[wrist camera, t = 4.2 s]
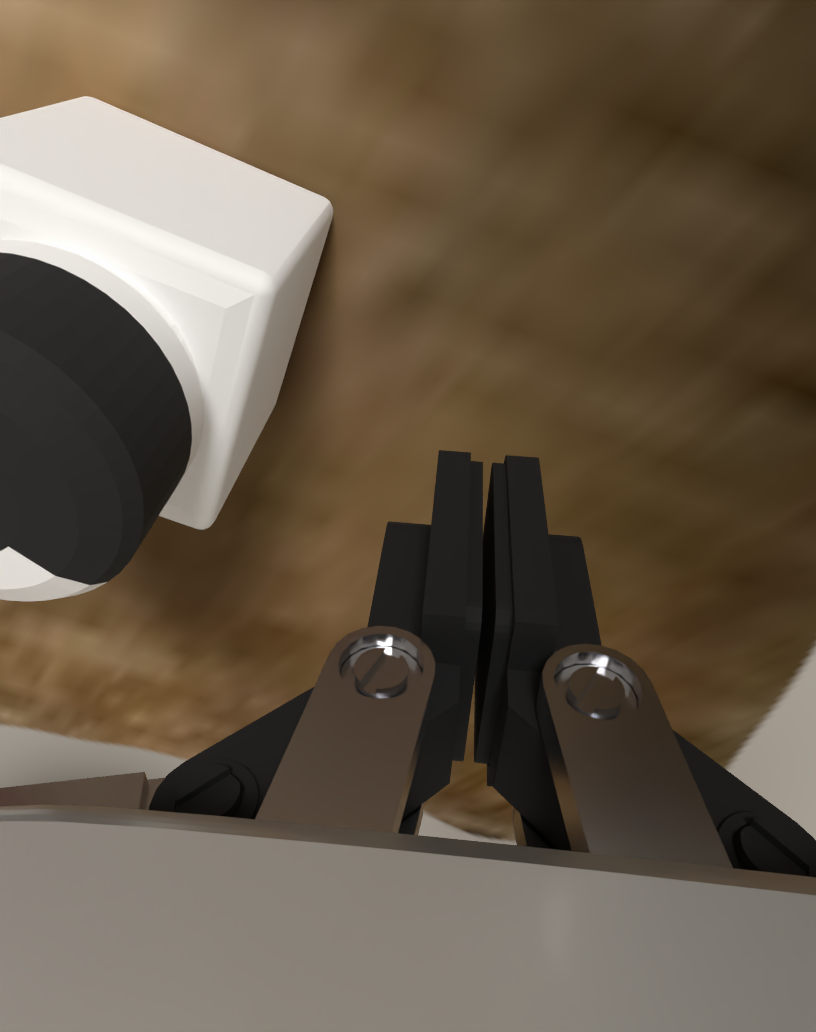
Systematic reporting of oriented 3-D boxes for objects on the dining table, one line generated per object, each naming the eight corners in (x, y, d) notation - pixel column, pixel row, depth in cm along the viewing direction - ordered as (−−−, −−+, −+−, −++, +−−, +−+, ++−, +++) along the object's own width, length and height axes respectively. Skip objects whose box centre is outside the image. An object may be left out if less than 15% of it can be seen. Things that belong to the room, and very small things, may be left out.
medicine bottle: (84, 89, 19) (-349, 193, 9) (339, 199, 20) (194, 397, 10) (65, 328, 23) (-246, 572, 13) (275, 408, 24) (130, 689, 14)
